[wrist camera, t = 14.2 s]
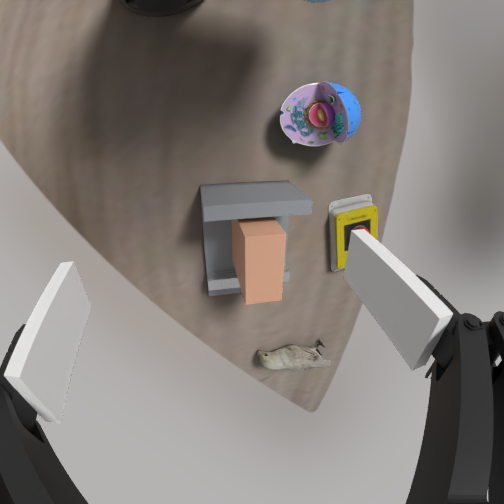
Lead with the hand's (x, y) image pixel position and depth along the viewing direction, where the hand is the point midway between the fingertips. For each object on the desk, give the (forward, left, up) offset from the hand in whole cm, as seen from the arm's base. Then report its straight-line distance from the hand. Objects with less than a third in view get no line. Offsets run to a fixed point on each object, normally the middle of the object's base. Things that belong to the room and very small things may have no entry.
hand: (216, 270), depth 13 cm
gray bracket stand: (+15, +7, -32) cm, 36 cm away
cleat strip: (+21, +7, -31) cm, 38 cm away
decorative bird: (+44, +17, -32) cm, 57 cm away
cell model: (-6, +17, -32) cm, 37 cm away
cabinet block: (+13, +7, -31) cm, 34 cm away
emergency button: (+15, +28, -33) cm, 45 cm away
